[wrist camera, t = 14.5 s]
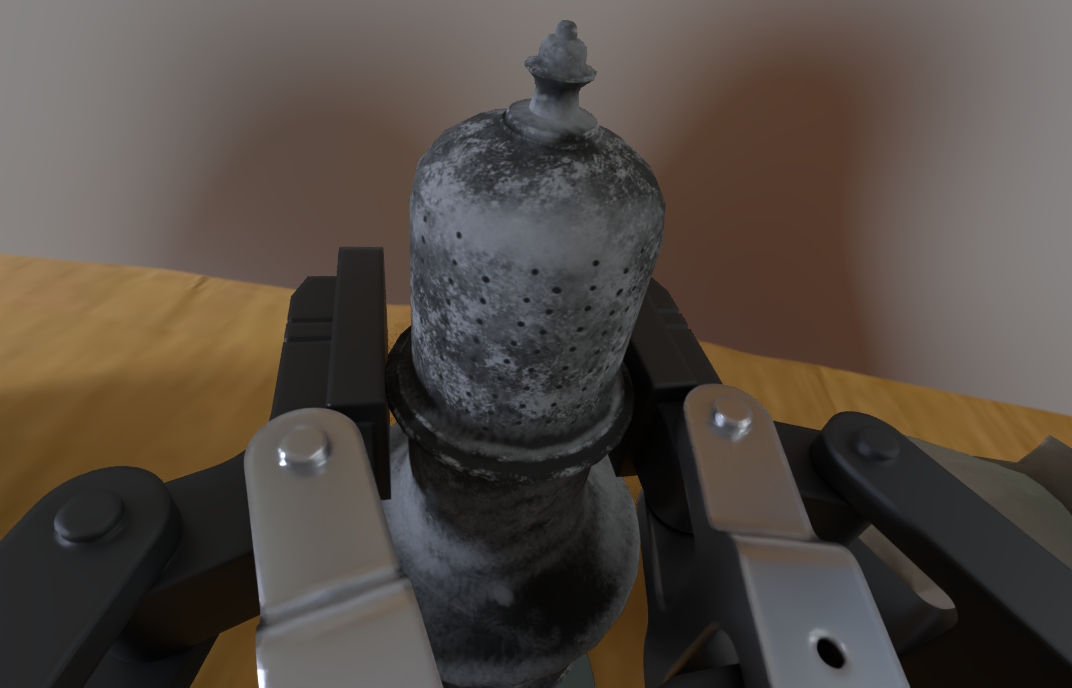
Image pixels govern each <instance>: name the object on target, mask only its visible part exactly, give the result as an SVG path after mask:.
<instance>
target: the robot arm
mask: <svg viewBox="0 0 1072 688" xmlns="http://www.w3.org/2000/svg"><path fill="white" fill-rule="evenodd" d="M287 320H288V323H287V324H286V330H285V336H284V342H283V347H282V353H281V359H280V365H279V371H278V377H277V383H276V388H275V394H274V400H273V406H272V412H271V416H270V419H269V422H268V423H267V424H265V425H264V426H263V427H261V429H260V430H259V431H258V432H257V433H256V434H255V435H254V436H253V438H252V439H251V440H250V442H249V444H248V446H247V448H246V450H244V451H243V452H241V453H240V454H238V455H237V456H235V457H234V458H232V459H230V460H228V461H226V462H224V463H221V464H219V465H216V466H214V467H211V468H208V469H205V470H202V471H199V472H196V473H193V474H190V475H187V476H184V477H181V478H178V479H175V480H172V481H169V482H166V483H163V481H162V480H161V479H160V478H159V477H158V476H156V475H155V474H153V473H151V472H150V471H148V470H144V469H141V468H137V467H129V466H116V467H108V468H102V469H98V470H94V471H90V472H88V473H85V474H82V475H79V476H77V477H75V478H73V479H71V480H69V481H67V482H65V483H63V484H61V485H60V486H58V487H56V488H55V489H53V490H52V491H51V492H49V493H48V494H47V495H45V496H44V497H43V498H42V499H40V500H39V501H38V502H37V503H36V504H35V505H34V506H33V507H32V508H31V509H30V510H29V511H28V512H27V513H26V514H25V515H24V517H23V518H22V519H21V520H20V521H19V522H18V523H17V524H16V525H15V526H14V527H13V528H12V529H11V530H10V531H9V532H8V534H7V535H6V536H5V537H4V538H3V539H2V540H1V541H0V688H190V686H191V684H192V682H193V681H194V679H195V677H196V675H197V673H198V671H199V670H200V668H201V666H202V664H203V662H204V661H205V659H206V657H207V655H208V653H209V651H210V650H211V648H212V646H213V644H214V642H215V641H216V639H217V637H218V635H219V633H221V632H224V631H226V630H228V629H230V628H232V627H234V626H237V625H239V624H241V623H243V622H245V621H247V620H250V619H252V618H254V617H256V616H258V615H260V624H258V625H257V628H256V660H257V671H258V681H259V688H443V685H442V682H441V679H440V675H439V672H438V669H437V665H436V662H435V659H434V655H433V652H432V649H431V645H430V642H429V639H428V636H427V632H426V629H425V626H424V622H423V619H422V616H421V612H420V609H419V606H418V603H417V599H416V596H415V593H414V590H413V588H412V585H411V582H410V580H409V578H408V576H407V574H406V573H405V572H403V570H402V568H401V566H400V563H399V560H398V557H397V554H396V550H395V547H394V544H393V540H392V537H391V533H390V530H389V527H388V523H387V520H386V516H385V513H384V510H383V506H382V503H381V500H390V499H391V458H390V412H389V406H388V401H387V396H386V364H387V359H388V330H387V309H386V290H385V271H384V253H383V247H340V248H339V254H338V266H337V276H330V277H329V276H317V277H316V276H314V277H313V276H312V277H307V278H306V279H305V281H304V282H303V283H302V284H301V285H300V287H299V288H298V289H297V290H296V291H295V292H294V294H293V295H292V296H291V300H290V306H289V312H288V318H287ZM623 362H624V364H625V365H626V367H627V369H628V372H629V375H630V377H631V381H632V385H633V389H634V393H635V396H634V406H633V415H632V419H631V422H630V424H629V426H628V428H627V429H626V431H625V433H624V435H623V437H622V439H621V441H620V443H619V444H618V445H617V446H616V447H615V448H614V449H613V450H612V451H611V452H610V453H609V454H608V456H609V459H610V462H611V465H612V467H613V470H614V473H615V476H616V477H626V476H636V475H638V478H639V480H640V483H641V486H642V490H641V492H640V495H639V497H638V500H637V517H638V525H639V534H640V542H641V551H642V560H643V568H644V577H645V585H646V594H647V603H648V628H647V633H646V637H645V644H644V679H645V688H1072V570H1071V569H1070V568H1069V567H1068V566H1066V565H1065V564H1064V563H1063V562H1061V561H1060V560H1059V559H1058V558H1056V557H1055V556H1054V555H1053V554H1051V553H1050V552H1049V551H1048V550H1046V549H1045V548H1044V547H1043V546H1041V545H1040V544H1039V543H1038V542H1036V541H1035V540H1034V539H1033V538H1031V537H1030V536H1029V535H1028V534H1026V533H1025V532H1024V531H1023V530H1021V529H1020V528H1019V527H1018V526H1016V525H1015V524H1014V523H1013V522H1011V521H1010V520H1009V519H1008V518H1006V517H1005V516H1004V515H1003V514H1001V513H1000V512H999V511H998V510H996V509H995V508H994V507H993V506H991V505H990V504H989V503H988V502H986V501H985V500H984V499H983V498H981V497H980V496H979V495H978V494H976V493H975V492H974V491H973V490H971V489H970V488H969V487H968V486H966V485H965V484H964V483H963V482H961V481H960V480H959V479H958V478H956V477H955V476H954V475H953V474H951V473H950V472H949V471H948V470H946V469H945V468H944V467H943V466H941V465H940V464H939V463H938V462H936V461H935V460H934V459H933V458H931V457H930V456H929V455H928V454H926V453H925V452H924V451H923V450H921V449H920V448H919V447H918V446H916V445H915V444H914V443H913V442H911V441H910V440H909V439H908V438H906V437H905V436H904V435H903V434H901V433H900V432H899V431H898V430H896V429H895V428H893V427H892V426H891V425H889V424H887V423H886V422H884V421H882V420H880V419H878V418H876V417H873V416H871V415H868V414H864V413H860V412H853V411H846V412H840V413H838V414H835V415H834V416H833V417H831V418H830V420H829V421H828V422H827V424H826V425H825V426H824V428H823V429H822V430H821V431H820V430H815V429H810V428H805V427H801V426H796V425H791V424H786V423H781V422H777V421H773V420H772V418H771V416H770V415H769V413H768V412H767V410H766V409H765V408H764V407H763V406H762V405H761V404H760V403H759V402H758V401H757V400H756V399H754V398H753V397H751V396H750V395H749V394H747V393H745V392H743V391H741V390H739V389H736V388H734V387H731V386H727V385H723V384H722V382H721V380H720V378H719V377H718V375H717V373H716V372H715V370H714V368H713V367H712V365H711V363H710V362H709V360H708V358H707V356H706V355H705V353H704V351H703V350H702V348H701V346H700V345H699V343H698V341H697V340H696V338H695V336H694V335H693V333H692V331H691V329H688V324H687V323H686V321H685V319H684V318H683V316H682V314H679V309H678V307H677V306H676V304H675V302H674V301H673V299H672V297H671V296H670V294H669V292H668V291H667V290H666V289H665V288H664V287H662V286H661V285H660V284H659V283H658V282H657V281H655V280H654V279H653V278H652V277H651V278H650V281H649V284H648V287H647V290H646V293H645V296H644V299H643V302H642V305H641V308H640V310H639V313H638V316H637V319H636V322H635V325H634V328H633V331H632V334H631V337H630V340H629V343H628V346H627V349H626V352H625V354H624V357H623ZM871 525H873V526H874V527H875V528H876V529H877V530H879V531H880V532H881V533H882V534H883V535H884V536H885V537H886V538H887V539H888V540H889V541H890V542H891V543H892V544H894V545H895V546H896V547H897V548H898V549H899V550H900V551H901V552H902V553H903V554H904V555H905V556H906V557H907V558H909V559H910V560H911V561H912V562H913V563H914V564H915V565H916V566H917V567H918V568H919V569H920V570H921V571H922V572H924V573H925V574H926V575H927V576H928V577H929V578H930V579H931V580H932V581H933V582H934V583H935V584H936V585H937V586H938V587H940V588H941V589H942V590H943V591H944V592H945V593H946V594H947V595H948V596H949V598H950V599H951V600H952V602H953V603H954V605H955V607H954V608H952V609H941V608H938V607H935V606H933V605H931V604H929V603H927V602H926V601H924V600H923V599H922V598H921V597H920V596H919V595H917V594H916V593H915V592H914V591H913V590H912V589H911V588H910V587H909V586H908V585H907V584H906V583H905V582H904V581H903V580H902V579H901V578H900V577H899V576H898V575H897V574H896V573H895V572H894V571H893V570H892V569H891V568H889V567H888V566H887V565H886V564H885V563H884V562H883V561H882V560H881V559H880V558H879V557H878V556H877V555H876V554H875V553H874V552H873V551H872V550H871V549H870V548H869V547H868V546H867V545H866V544H865V543H864V542H863V541H862V540H860V539H859V538H858V537H859V536H860V535H861V534H862V533H863V532H864V531H865V530H866V529H867V528H868V527H869V526H871Z"/></svg>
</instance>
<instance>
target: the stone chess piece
mask: <svg viewBox="0 0 1072 688" xmlns="http://www.w3.org/2000/svg"><path fill="white" fill-rule="evenodd" d="M586 58H587V47H586V46H585V44H584V43H583V41H581V40H580V39H578V38H577V27H576V25H575V23H574V22H572V21H569V20H562V21H561V22H560V23H559V24H558V26H557V28H556V32H555V34H550V35H548V36H547V37H546V38H545V39H544V40H543V41H542V43H541V46H540V49H539V55H538V56H532V57H529V58H528V59H527V60H526V61H525V63H524V65H525V66H526V67H527V69H528V70H529V72H530V73H531V74H532V75H533V77H534V78H535V84H536V88H535V91H534V94H533V97H532V99H524V100H520V101H516V102H515V103H513V104H511V105H510V107H509V108H506V109H495V110H491V111H487V112H483V113H480V114H478V115H475V116H473V117H471V118H469V119H467V120H465V121H462V122H460V123H458V124H456V125H454V126H453V127H451V128H448V129H446V130H445V131H444V132H443V133H442V134H441V135H440V136H439V137H438V139H437V140H436V141H435V142H434V143H433V144H432V145H431V147H430V148H429V149H428V150H427V151H426V153H425V154H424V155H423V156H422V157H421V158H420V160H419V161H418V165H417V169H416V173H415V178H414V182H413V186H412V191H411V196H410V201H409V204H410V205H409V208H410V272H411V273H410V274H411V326H410V327H409V328H407V329H406V330H405V331H404V332H403V333H402V334H401V335H400V336H399V338H398V340H397V341H396V343H395V344H394V346H393V348H392V349H391V351H390V353H389V354H388V359H387V364H386V396H387V401H388V406H389V409H390V411H391V412H392V414H393V416H394V417H395V419H396V421H397V423H395V424H394V425H392V426H391V427H390V458H391V499H390V500H381V503H382V506H383V510H384V513H385V516H386V520H387V523H388V527H389V530H390V533H391V537H392V540H393V544H394V547H395V550H396V554H397V557H398V560H399V563H400V566H401V568H402V570H403V572H405V573H406V574H407V576H408V578H409V580H410V582H411V585H412V588H413V590H414V593H415V596H416V599H417V603H418V606H419V609H420V612H421V616H422V619H423V622H424V626H425V629H426V632H427V636H428V639H429V642H430V645H431V649H432V652H433V655H434V659H435V662H436V665H437V669H438V672H439V675H440V679H441V682H442V685H443V688H557V687H558V686H559V684H560V683H561V682H562V681H563V679H564V678H565V677H566V676H567V674H568V673H569V672H570V671H571V669H572V668H573V666H574V664H575V661H576V660H577V659H578V658H579V657H581V656H582V655H584V654H585V653H587V652H588V651H590V650H591V649H592V648H594V647H595V646H596V645H597V644H598V643H599V642H600V640H601V639H602V638H603V636H604V635H605V634H606V633H607V631H608V630H609V629H610V628H611V626H612V625H613V624H614V622H615V621H616V620H617V619H618V617H619V616H620V615H621V614H622V612H623V610H624V608H625V605H626V603H627V600H628V598H629V595H630V592H631V590H632V587H633V585H634V582H635V579H636V577H637V574H638V566H639V553H640V534H639V525H638V519H637V514H636V509H635V504H634V500H633V498H632V496H631V494H630V492H629V490H628V488H627V486H626V483H625V481H624V479H623V477H616V476H615V473H614V470H613V467H612V465H611V462H610V459H609V457H608V456H607V454H609V453H610V452H611V451H612V450H613V449H614V448H615V447H616V446H617V445H618V444H619V443H620V441H621V439H622V437H623V435H624V433H625V431H626V429H627V428H628V426H629V424H630V422H631V419H632V415H633V406H634V396H635V393H634V389H633V385H632V381H631V377H630V375H629V372H628V369H627V367H626V365H625V364H624V362H623V357H624V354H625V352H626V349H627V346H628V343H629V340H630V337H631V334H632V331H633V328H634V325H635V322H636V319H637V316H638V313H639V310H640V308H641V305H642V302H643V299H644V296H645V293H646V290H647V287H648V284H649V281H650V278H651V275H652V272H653V269H654V266H655V263H656V261H657V258H658V255H659V252H660V249H661V246H662V241H663V228H664V216H665V201H664V198H663V196H662V193H661V191H660V188H659V186H658V183H657V180H656V178H655V176H654V174H653V172H652V169H651V168H650V166H649V165H648V164H647V163H646V162H645V161H644V160H643V159H642V157H641V156H640V155H638V154H637V152H635V150H633V149H632V148H631V147H630V146H629V145H628V144H627V143H626V142H625V141H624V140H623V139H622V138H621V137H619V136H618V135H616V134H615V133H613V132H612V131H610V130H608V129H607V128H604V127H602V126H600V125H598V122H597V120H596V118H595V117H594V116H593V115H592V114H591V113H589V112H588V111H586V110H585V109H582V108H580V107H579V91H580V88H581V87H583V86H585V85H586V84H588V83H590V82H591V81H593V80H594V78H595V76H596V71H595V70H594V69H593V68H592V67H591V66H589V65H587V64H586Z"/></svg>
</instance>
